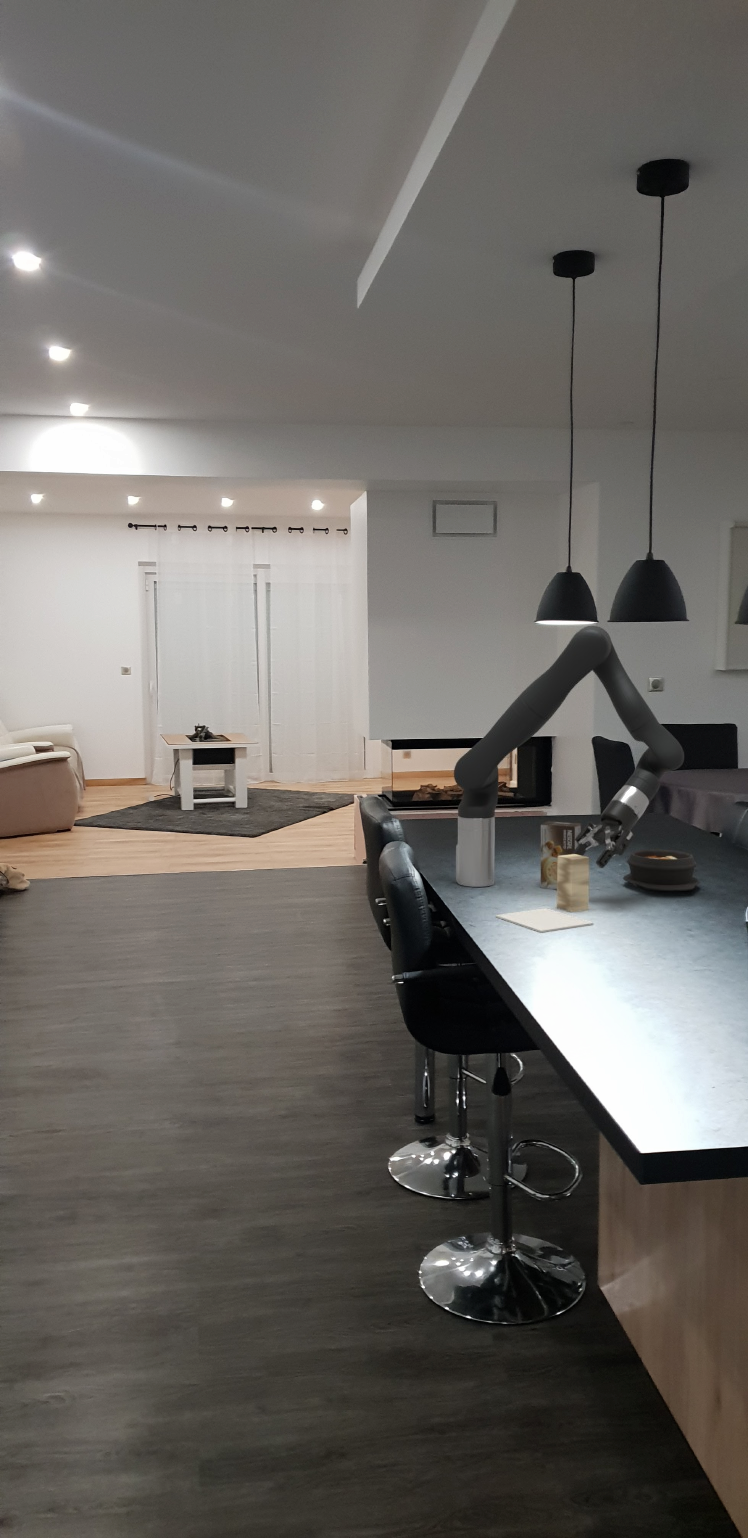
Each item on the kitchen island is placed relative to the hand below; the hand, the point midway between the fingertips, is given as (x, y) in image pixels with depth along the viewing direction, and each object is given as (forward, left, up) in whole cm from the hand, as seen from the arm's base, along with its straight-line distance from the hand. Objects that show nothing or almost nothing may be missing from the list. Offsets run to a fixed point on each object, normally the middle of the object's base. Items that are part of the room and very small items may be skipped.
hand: (586, 862), depth 242 cm
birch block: (0, -4, -10) cm, 11 cm away
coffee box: (-20, +9, -10) cm, 24 cm away
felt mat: (+6, -17, -10) cm, 21 cm away
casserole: (-8, +31, -11) cm, 34 cm away
